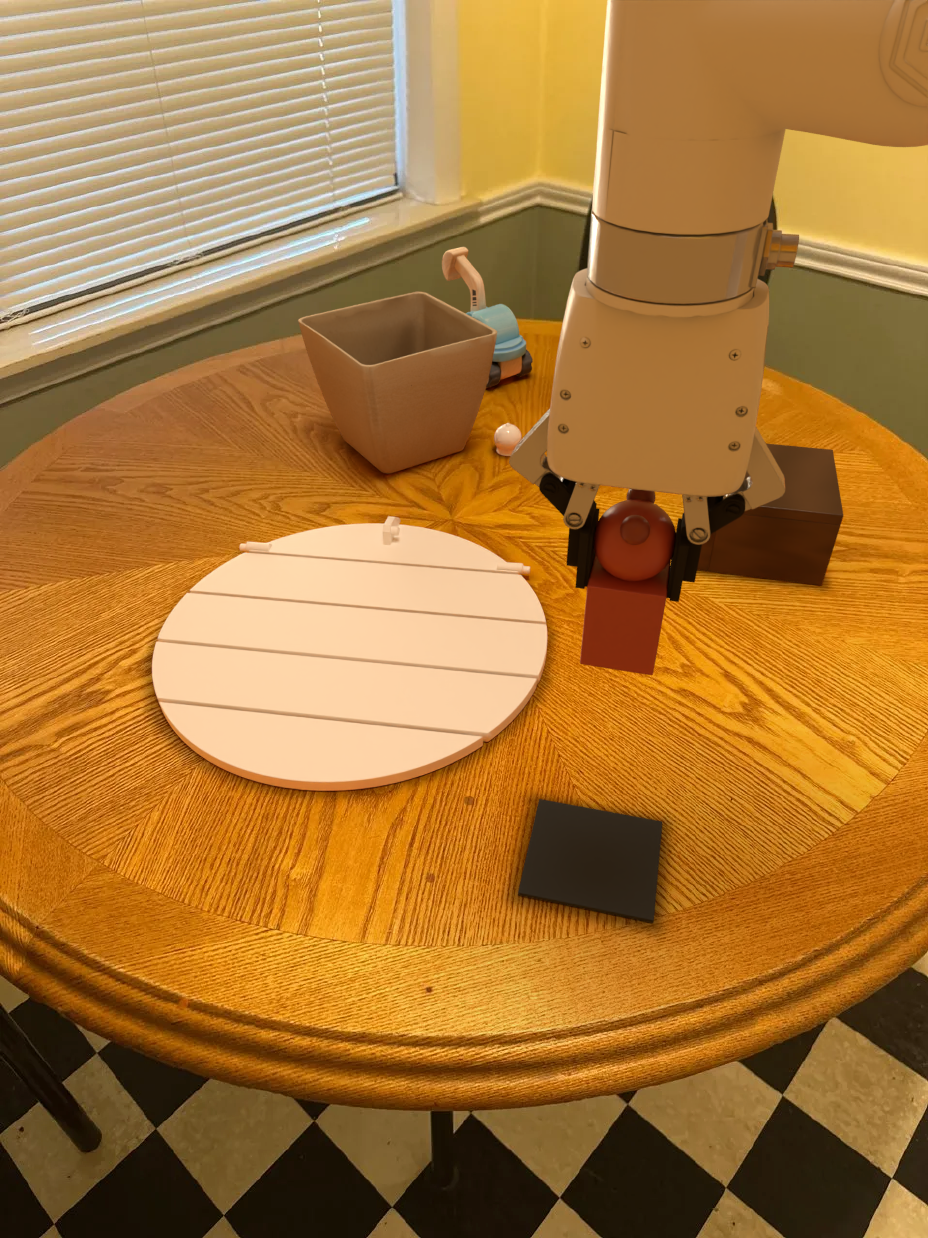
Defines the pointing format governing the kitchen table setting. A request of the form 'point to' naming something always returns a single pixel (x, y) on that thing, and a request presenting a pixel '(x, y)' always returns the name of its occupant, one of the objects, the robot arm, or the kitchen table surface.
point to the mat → (593, 860)
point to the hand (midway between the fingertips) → (629, 578)
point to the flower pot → (401, 376)
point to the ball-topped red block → (628, 585)
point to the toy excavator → (490, 320)
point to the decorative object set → (507, 439)
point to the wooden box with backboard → (784, 524)
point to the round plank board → (350, 656)
